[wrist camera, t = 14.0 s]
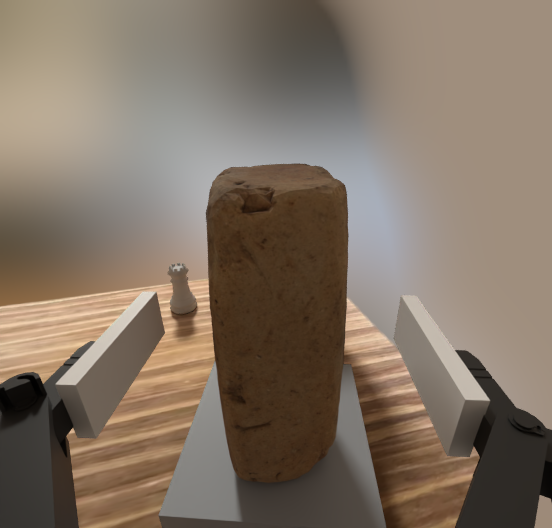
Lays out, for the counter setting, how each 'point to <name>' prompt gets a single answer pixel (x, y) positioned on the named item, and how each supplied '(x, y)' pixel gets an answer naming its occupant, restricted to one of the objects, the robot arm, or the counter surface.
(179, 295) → the rook chess piece
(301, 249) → the block
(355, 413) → the grey base block
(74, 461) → the counter surface
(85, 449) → the counter surface
